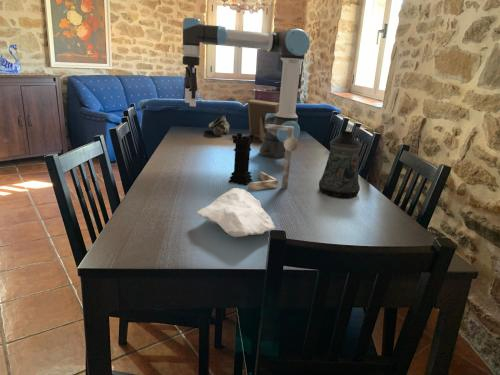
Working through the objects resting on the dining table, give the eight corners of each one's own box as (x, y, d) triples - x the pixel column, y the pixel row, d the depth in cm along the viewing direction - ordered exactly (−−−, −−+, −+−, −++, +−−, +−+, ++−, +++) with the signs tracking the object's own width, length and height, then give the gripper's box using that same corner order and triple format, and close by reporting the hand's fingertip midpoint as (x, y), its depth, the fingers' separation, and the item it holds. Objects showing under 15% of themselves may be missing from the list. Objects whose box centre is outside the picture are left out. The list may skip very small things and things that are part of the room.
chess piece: (252, 180, 160) (255, 134, 153) (246, 185, 152) (249, 138, 146) (235, 177, 162) (237, 132, 156) (228, 182, 155) (230, 135, 148)
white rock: (189, 245, 98) (195, 214, 95) (200, 198, 131) (205, 174, 128) (275, 261, 100) (283, 231, 97) (265, 210, 133) (271, 187, 130)
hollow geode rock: (217, 144, 245) (233, 129, 240) (203, 130, 242) (220, 115, 238) (222, 135, 271) (237, 122, 267) (210, 122, 268) (225, 108, 264)
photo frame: (253, 134, 261) (255, 98, 253) (280, 139, 251) (283, 102, 242) (241, 137, 249) (243, 100, 241) (269, 143, 239) (272, 104, 230)
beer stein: (335, 201, 142) (345, 137, 134) (306, 185, 158) (313, 127, 150) (367, 197, 150) (378, 136, 141) (336, 182, 166) (344, 127, 158)
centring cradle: (277, 177, 167) (282, 120, 159) (292, 189, 152) (299, 128, 144) (237, 178, 161) (241, 119, 153) (250, 191, 146) (254, 127, 138)
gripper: (178, 55, 174) (178, 100, 181) (187, 55, 152) (186, 107, 159) (194, 56, 177) (193, 101, 184) (205, 56, 155) (203, 108, 161)
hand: (190, 104), depth 171 cm, fingers open, 13 cm apart
